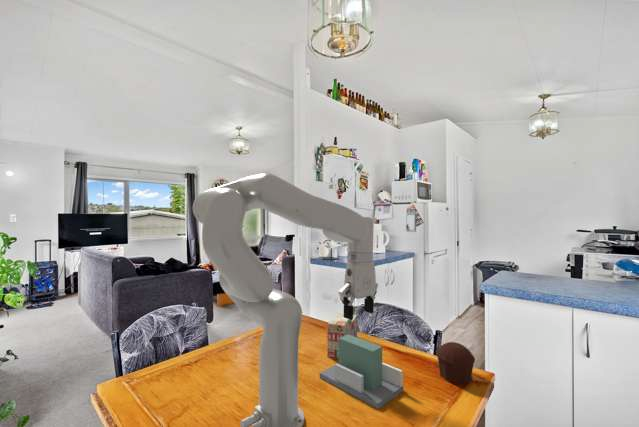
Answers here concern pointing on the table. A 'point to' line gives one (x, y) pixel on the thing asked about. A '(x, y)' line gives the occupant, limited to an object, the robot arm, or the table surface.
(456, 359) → the muffin
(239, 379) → the table surface
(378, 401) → the grey slotted holder
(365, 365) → the book
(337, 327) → the printed carton
